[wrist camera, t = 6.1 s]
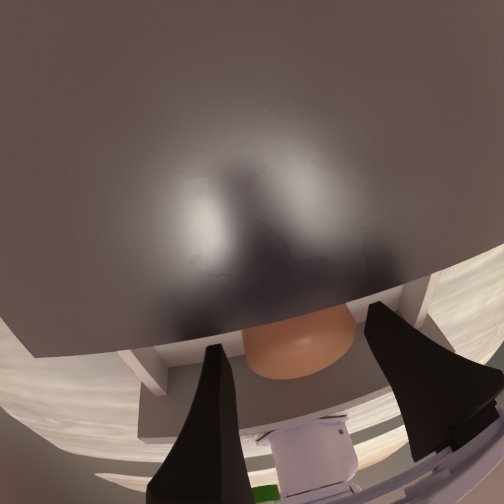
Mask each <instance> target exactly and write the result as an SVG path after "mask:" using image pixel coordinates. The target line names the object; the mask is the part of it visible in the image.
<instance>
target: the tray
mask: <svg viewBox="0 0 504 504" xmlns="http://www.w3.org/2000/svg"><path fill="white" fill-rule="evenodd" d="M440 273H441V270H440V271H438V272H435V273H433V274H430V275H427V276H425V277H422V278H419V279H417V280H414V281H411V282H408V283H406V284H403V285H400V286H397V287H394V288H391V289H388V290H385V291H382V292H379V293H376V294H373V295H370V296H367V297H364V298H361V299H357V300H354V301H351V302H348V303H346V305H347V307H348V308H349V310H350V312H351V314H352V315H353V317H354V319H355V321H356V324H357V333H356V337H355V340H354V342H353V343H352V345H351V347H350V348H349V349H348V350H347V352H346V353H345V354H344V355H343V356H342V357H341V358H339V359H338V360H337V361H336V362H334V363H333V364H331V365H330V366H328V367H326V368H324V369H322V370H320V371H318V372H316V373H313V374H310V375H307V376H304V377H300V378H294V379H283V380H280V379H270V378H266V377H263V376H260V375H258V374H256V373H255V372H254V371H252V370H251V369H250V367H249V366H248V364H247V361H246V356H245V350H244V345H243V339H242V333H241V330H239V331H234V332H230V333H225V334H220V335H215V336H210V337H205V338H199V339H194V340H188V341H183V342H177V343H171V344H165V345H158V346H152V347H145V348H138V349H130V350H122V351H117V353H118V354H119V355H120V356H121V358H122V359H123V360H124V361H125V362H126V364H127V365H128V366H129V367H130V368H131V370H132V371H133V372H134V373H135V374H136V375H137V376H138V378H139V379H140V380H141V391H140V403H139V418H138V438H139V439H140V440H142V441H143V442H145V443H146V444H171V443H175V442H176V440H177V438H178V436H179V434H180V432H181V429H182V427H183V425H184V423H185V420H186V418H187V415H188V413H189V410H190V407H191V404H192V401H193V399H194V396H195V393H196V389H197V386H198V382H199V378H200V375H201V370H202V366H203V361H204V356H205V349H206V347H207V346H209V345H214V344H219V343H221V344H222V347H223V349H224V351H225V354H226V356H227V358H228V361H229V363H230V365H231V368H232V373H233V378H234V383H235V390H236V402H237V415H238V427H239V436H245V435H251V434H257V433H262V432H267V431H271V430H276V429H280V428H285V427H289V426H293V425H297V424H300V423H304V422H308V421H311V420H315V419H318V418H322V417H325V416H328V415H331V414H334V413H337V412H340V411H343V410H346V409H349V408H352V407H354V406H357V405H360V404H362V403H365V402H368V401H370V400H373V399H375V398H377V397H380V396H382V395H385V394H387V393H389V392H391V391H393V390H392V388H391V386H390V384H389V382H388V381H387V379H386V377H385V375H384V373H383V371H382V370H381V368H380V366H379V364H378V362H377V361H376V359H375V357H374V355H373V353H372V352H371V349H370V347H369V345H368V342H367V340H366V337H365V335H364V328H365V323H366V317H367V312H368V306H369V304H372V303H375V302H378V301H381V302H382V303H384V304H385V305H386V306H387V307H389V308H390V309H391V310H392V311H394V312H395V313H396V314H397V315H399V316H400V317H401V318H403V319H404V320H405V321H406V322H408V323H409V324H410V325H412V326H413V327H414V328H416V329H417V330H418V331H420V332H421V333H422V334H424V335H425V336H427V337H428V338H430V339H431V340H433V341H434V342H436V343H437V344H439V345H441V346H443V347H444V348H446V349H448V350H450V351H451V352H453V353H455V350H454V349H453V347H452V346H451V344H450V343H449V341H448V340H447V339H446V337H445V336H444V334H443V333H442V332H441V330H440V329H439V328H438V326H437V325H436V324H435V322H434V321H433V320H432V318H431V317H430V316H429V314H428V313H427V312H428V309H429V307H430V304H431V301H432V298H433V295H434V292H435V289H436V286H437V283H438V280H439V276H440Z"/></svg>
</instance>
